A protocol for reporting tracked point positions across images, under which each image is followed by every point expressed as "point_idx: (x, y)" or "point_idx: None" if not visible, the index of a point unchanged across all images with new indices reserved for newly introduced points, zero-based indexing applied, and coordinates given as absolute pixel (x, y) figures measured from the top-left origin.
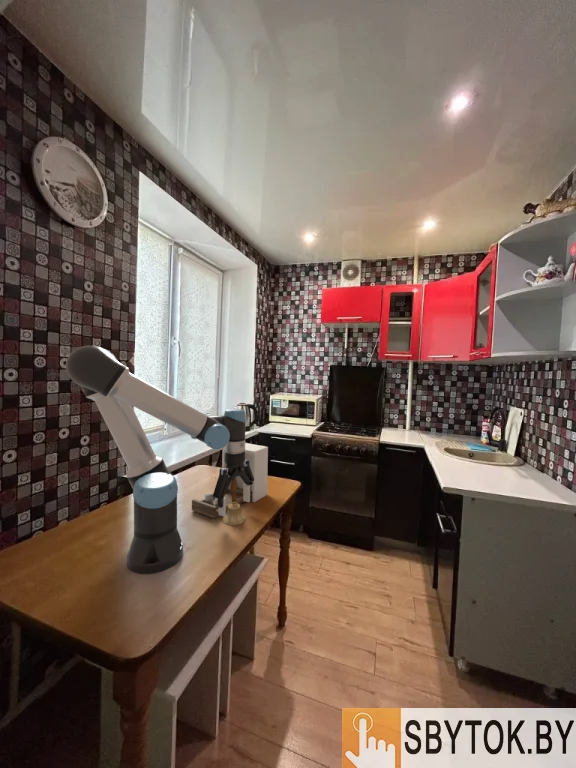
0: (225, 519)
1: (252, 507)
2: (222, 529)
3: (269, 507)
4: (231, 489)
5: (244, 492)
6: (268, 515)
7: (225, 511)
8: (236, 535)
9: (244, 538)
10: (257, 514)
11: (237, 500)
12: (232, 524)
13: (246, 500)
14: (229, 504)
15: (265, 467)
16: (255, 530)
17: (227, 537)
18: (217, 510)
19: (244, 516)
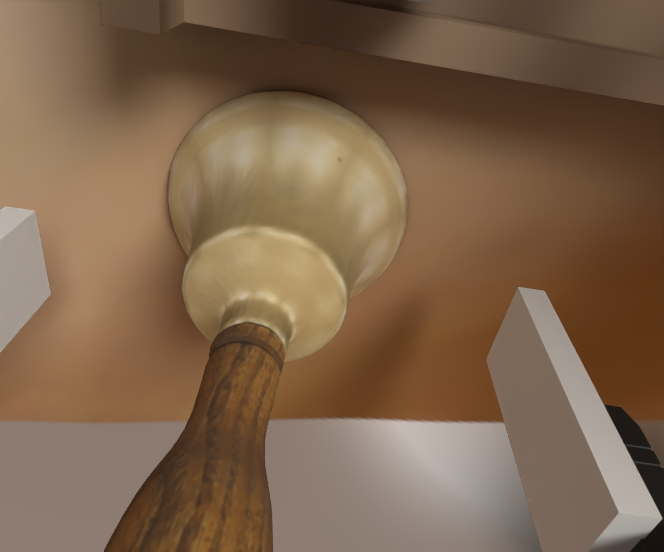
0: (187, 174)
1: (623, 247)
2: (75, 209)
3: (646, 375)
4: (113, 537)
5: (546, 400)
6: (483, 413)
7: (15, 329)
8: (87, 345)
9: (96, 399)
10: (475, 343)
11: (656, 103)
12: (187, 255)
13: (502, 344)
14: (474, 69)
15: None
16: None
17: None
18: (213, 12)
19: (360, 291)
